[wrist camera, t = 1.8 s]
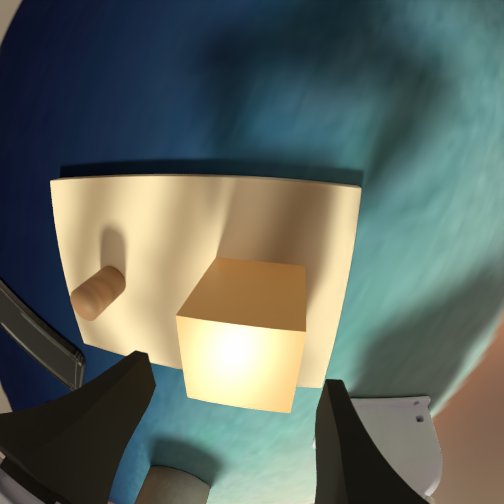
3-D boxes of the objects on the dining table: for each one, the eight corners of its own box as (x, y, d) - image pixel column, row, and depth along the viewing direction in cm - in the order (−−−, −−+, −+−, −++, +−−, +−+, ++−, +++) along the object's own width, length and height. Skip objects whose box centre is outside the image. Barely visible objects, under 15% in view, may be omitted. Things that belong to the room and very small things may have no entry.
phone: (78, 395, 26) (-4, 321, 25) (82, 389, 27) (1, 317, 26) (82, 361, 23) (-9, 277, 22) (88, 354, 24) (-3, 273, 23)
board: (357, 185, 15) (379, 202, 11) (321, 378, 20) (322, 425, 16) (59, 178, 17) (14, 191, 13) (90, 336, 23) (62, 366, 18)
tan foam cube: (305, 265, 16) (306, 331, 10) (295, 338, 18) (290, 413, 12) (215, 257, 16) (175, 315, 11) (217, 329, 18) (187, 397, 13)
